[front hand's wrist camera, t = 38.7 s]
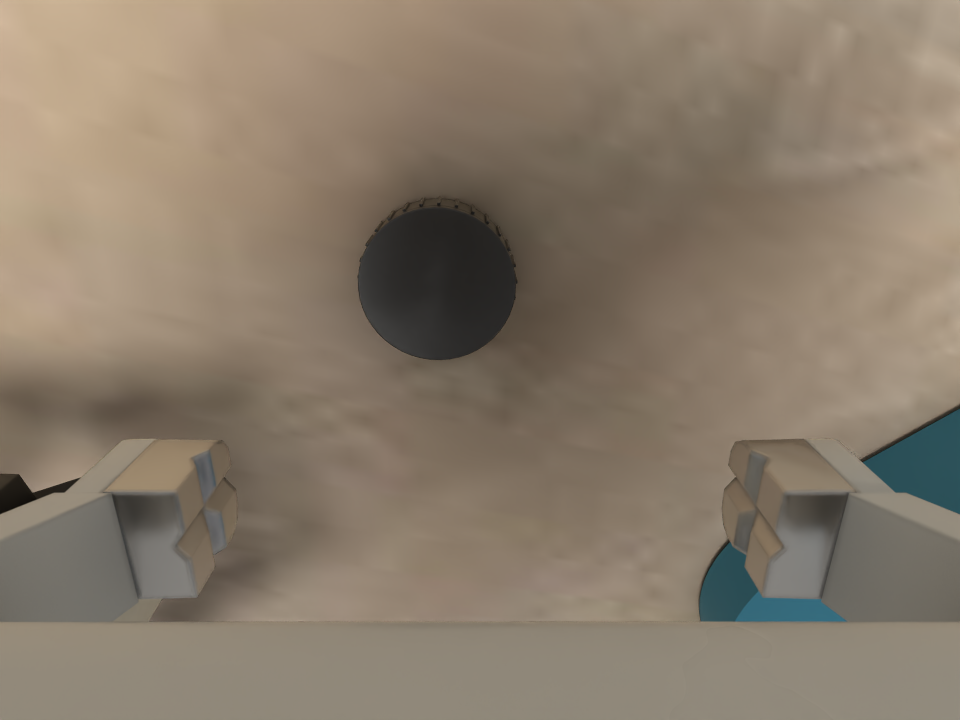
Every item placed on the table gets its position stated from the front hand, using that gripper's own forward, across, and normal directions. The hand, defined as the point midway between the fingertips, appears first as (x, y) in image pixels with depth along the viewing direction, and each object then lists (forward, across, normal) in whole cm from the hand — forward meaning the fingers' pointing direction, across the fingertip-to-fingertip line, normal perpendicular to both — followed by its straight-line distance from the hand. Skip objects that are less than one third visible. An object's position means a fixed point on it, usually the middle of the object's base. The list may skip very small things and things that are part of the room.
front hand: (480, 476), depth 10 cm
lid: (+12, +2, 0) cm, 12 cm away
